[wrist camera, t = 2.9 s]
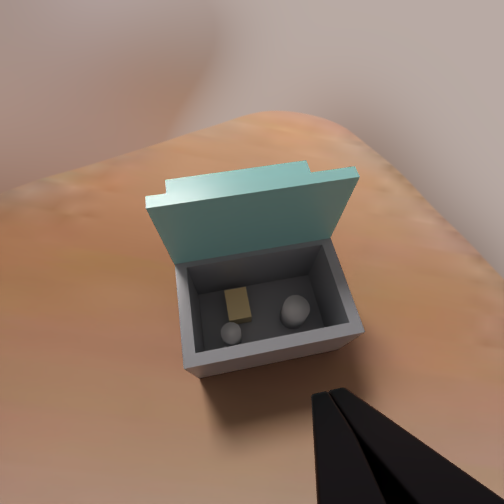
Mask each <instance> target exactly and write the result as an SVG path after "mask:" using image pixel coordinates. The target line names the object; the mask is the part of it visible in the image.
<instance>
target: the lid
mask: <svg viewBox="0 0 504 504" xmlns="http://www.w3.org/2000/svg"><path fill="white" fill-rule="evenodd" d="M359 177H360V176H359V174H358V172H357V170H356V168H355V166H354V167H347V168H340V169H333V170H326V171H319V172H312V173H311V172H310V169H309V167H308V164H307V161H306V160H305V161H298V162H291V163H284V164H277V165H269V166H262V167H255V168H248V169H241V170H233V171H226V172H219V173H212V174H205V175H197V176H190V177H183V178H176V179H169V180H165V183H166V194H159V195H152V196H145V197H146V209H147V211H148V213H149V215H150V217H151V219H152V221H153V223H154V225H155V227H156V229H157V231H158V233H159V235H160V237H161V239H162V241H163V243H164V245H165V247H166V249H167V251H168V253H169V255H170V257H171V259H172V261H173V262H174V264H179V263H185V262H191V261H197V260H203V259H209V258H215V257H221V256H227V255H233V254H239V253H245V252H251V251H257V250H263V249H269V248H274V247H280V246H286V245H292V244H298V243H304V242H310V241H316V240H322V239H328V238H330V237H331V235H332V233H333V231H334V229H335V227H336V225H337V223H338V221H339V219H340V217H341V214H342V212H343V210H344V208H345V206H346V204H347V202H348V200H349V198H350V196H351V194H352V192H353V190H354V188H355V186H356V183H357V181H358V179H359Z"/></svg>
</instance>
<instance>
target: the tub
mask: <svg viewBox="0 0 504 504" xmlns="http://www.w3.org/2000/svg"><path fill="white" fill-rule="evenodd" d="M175 271H176V283H177V294H178V306H179V318H180V330H181V342H182V353H183V365H184V369H185V370H186V371H188V372H190V373H191V374H193V375H195V376H196V377H198V378H203V377H208V376H213V375H218V374H223V373H228V372H232V371H237V370H242V369H247V368H252V367H256V366H261V365H266V364H271V363H276V362H280V361H285V360H290V359H295V358H300V357H305V356H309V355H314V354H319V353H324V352H329V351H333V350H338V349H340V348H341V347H343V346H344V345H346V344H347V343H349V342H350V341H352V340H354V339H355V338H357V337H358V336H360V335H361V334H363V333H364V332H365V330H364V328H363V325H362V322H361V320H360V317H359V314H358V311H357V309H356V306H355V303H354V301H353V298H352V295H351V292H350V290H349V287H348V284H347V282H346V279H345V276H344V273H343V271H342V268H341V265H340V263H339V260H338V257H337V254H336V252H335V249H334V246H333V244H332V241H331V238H328V239H322V240H316V241H310V242H304V243H298V244H292V245H286V246H280V247H274V248H269V249H263V250H257V251H251V252H245V253H239V254H233V255H227V256H221V257H215V258H209V259H203V260H197V261H191V262H185V263H179V264H175Z"/></svg>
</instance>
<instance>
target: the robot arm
mask: <svg viewBox="0 0 504 504" xmlns="http://www.w3.org/2000/svg"><path fill="white" fill-rule="evenodd" d="M311 400H312V418H313V436H314V455H315V473H316V491H317V504H504V499H503V498H501V497H500V496H498V495H497V494H495V493H494V492H493V491H491V490H490V489H488V488H487V487H486V486H484V485H483V484H481V483H480V482H478V481H477V480H476V479H474V478H473V477H471V476H470V475H468V474H467V473H466V472H464V471H463V470H461V469H460V468H459V467H457V466H456V465H454V464H453V463H451V462H450V461H449V460H447V459H446V458H444V457H443V456H441V455H440V454H439V453H437V452H436V451H434V450H433V449H432V448H430V447H429V446H427V445H426V444H424V443H423V442H422V441H420V440H419V439H417V438H416V437H415V436H413V435H412V434H410V433H409V432H407V431H406V430H405V429H403V428H402V427H400V426H399V425H397V424H396V423H395V422H393V421H392V420H390V419H389V418H388V417H386V416H385V415H383V414H382V413H380V412H379V411H378V410H376V409H375V408H373V407H372V406H370V405H369V404H368V403H366V402H365V401H363V400H362V399H361V398H359V397H358V396H356V395H355V394H353V393H352V392H351V391H349V390H348V389H346V388H338V389H334V390H330V391H329V392H326V391H325V392H320V393H316V394H313V395H312V396H311Z"/></svg>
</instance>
